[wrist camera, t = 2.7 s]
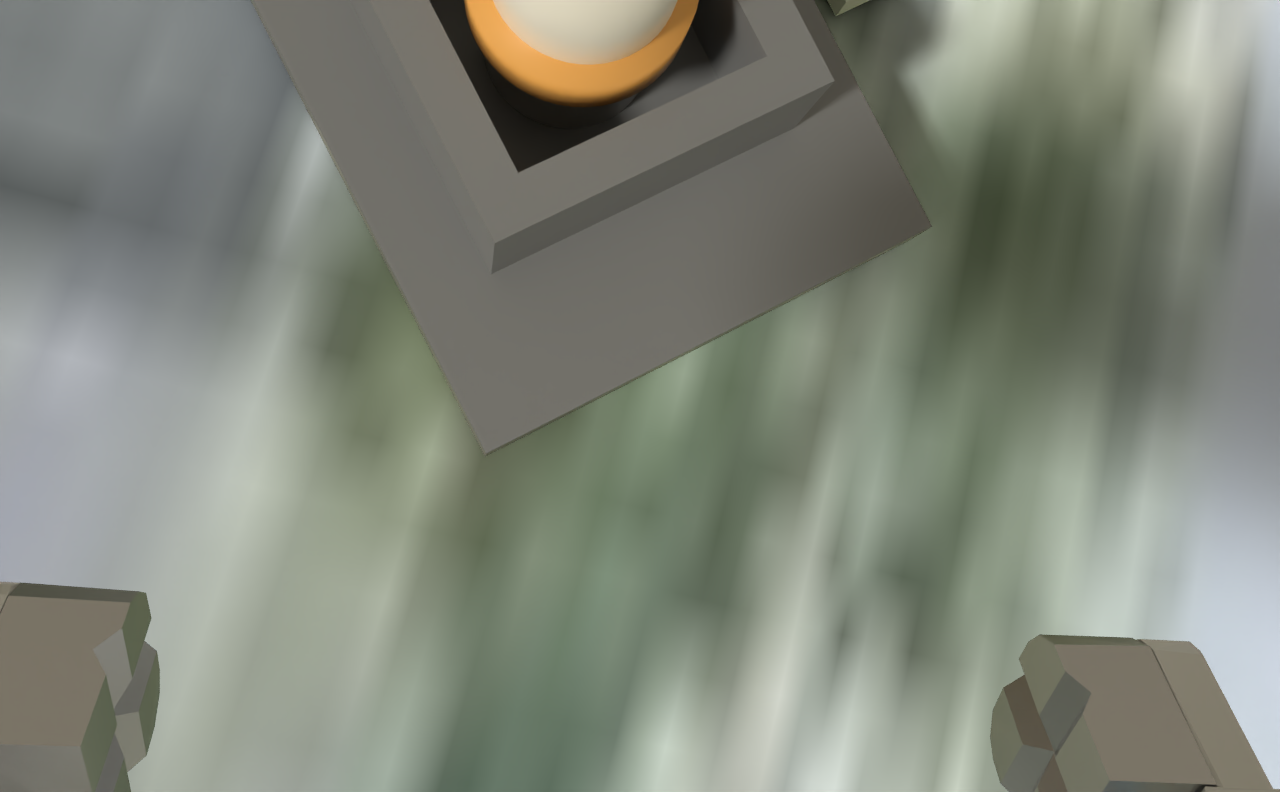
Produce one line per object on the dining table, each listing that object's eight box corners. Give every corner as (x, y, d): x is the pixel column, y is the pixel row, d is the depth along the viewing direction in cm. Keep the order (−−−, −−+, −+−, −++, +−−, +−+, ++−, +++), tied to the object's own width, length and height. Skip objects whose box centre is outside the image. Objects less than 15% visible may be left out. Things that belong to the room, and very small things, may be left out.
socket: (195, -108, 27) (141, -230, 22) (633, -285, 29) (664, -431, 24) (484, 456, 27) (488, 445, 22) (907, 241, 28) (989, 191, 24)
